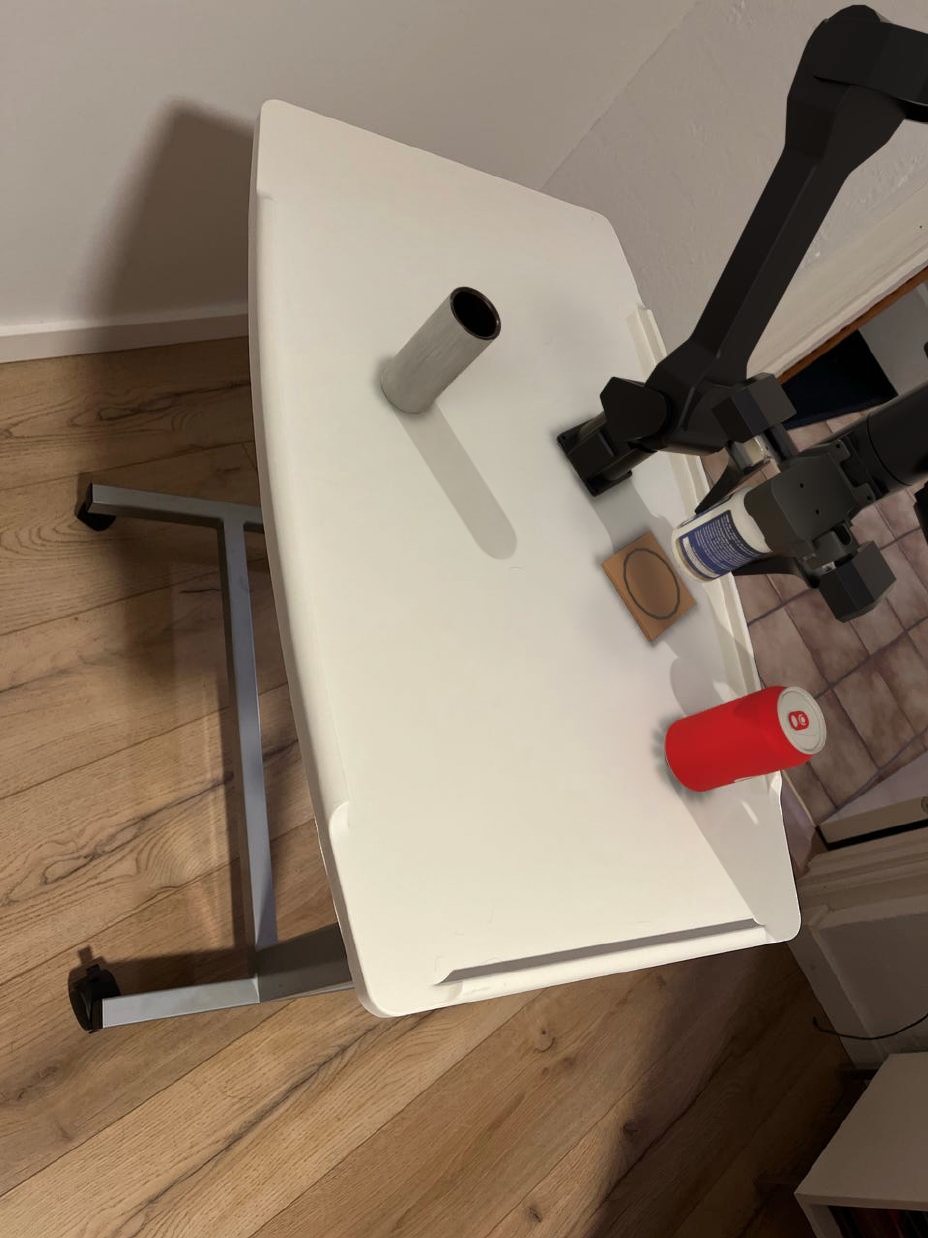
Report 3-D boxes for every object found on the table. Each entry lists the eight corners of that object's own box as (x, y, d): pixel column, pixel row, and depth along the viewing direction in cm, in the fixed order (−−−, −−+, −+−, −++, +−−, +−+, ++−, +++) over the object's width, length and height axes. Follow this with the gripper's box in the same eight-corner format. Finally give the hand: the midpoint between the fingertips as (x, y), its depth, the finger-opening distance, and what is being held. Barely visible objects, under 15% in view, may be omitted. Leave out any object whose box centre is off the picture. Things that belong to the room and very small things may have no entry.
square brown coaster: (647, 532, 84) (651, 530, 84) (692, 605, 84) (697, 603, 84) (600, 564, 79) (604, 561, 78) (649, 641, 79) (653, 639, 78)
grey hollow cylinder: (371, 389, 71) (441, 309, 63) (392, 354, 73) (461, 274, 66) (417, 424, 72) (491, 351, 64) (435, 389, 75) (509, 315, 67)
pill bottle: (713, 595, 74) (814, 547, 67) (666, 565, 72) (764, 512, 64) (716, 543, 77) (814, 492, 69) (671, 513, 75) (766, 456, 67)
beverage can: (719, 788, 77) (841, 755, 68) (671, 799, 74) (793, 766, 64) (697, 717, 79) (813, 676, 70) (649, 725, 75) (765, 682, 66)
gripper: (769, 350, 55) (599, 469, 67) (926, 612, 55) (728, 684, 67) (839, 320, 63) (675, 432, 75) (978, 551, 62) (791, 626, 74)
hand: (715, 541), depth 72 cm, fingers closed on pill bottle, 5 cm apart
